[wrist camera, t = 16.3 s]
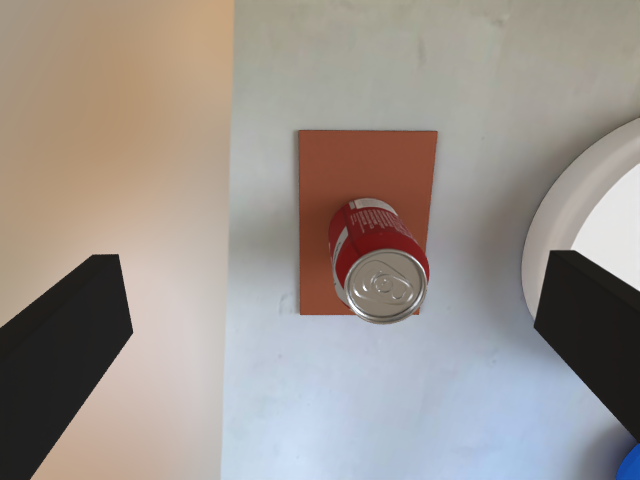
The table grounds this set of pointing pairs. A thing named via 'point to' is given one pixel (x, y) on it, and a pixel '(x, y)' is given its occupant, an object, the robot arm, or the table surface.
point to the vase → (630, 466)
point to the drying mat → (356, 195)
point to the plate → (590, 213)
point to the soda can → (376, 262)
